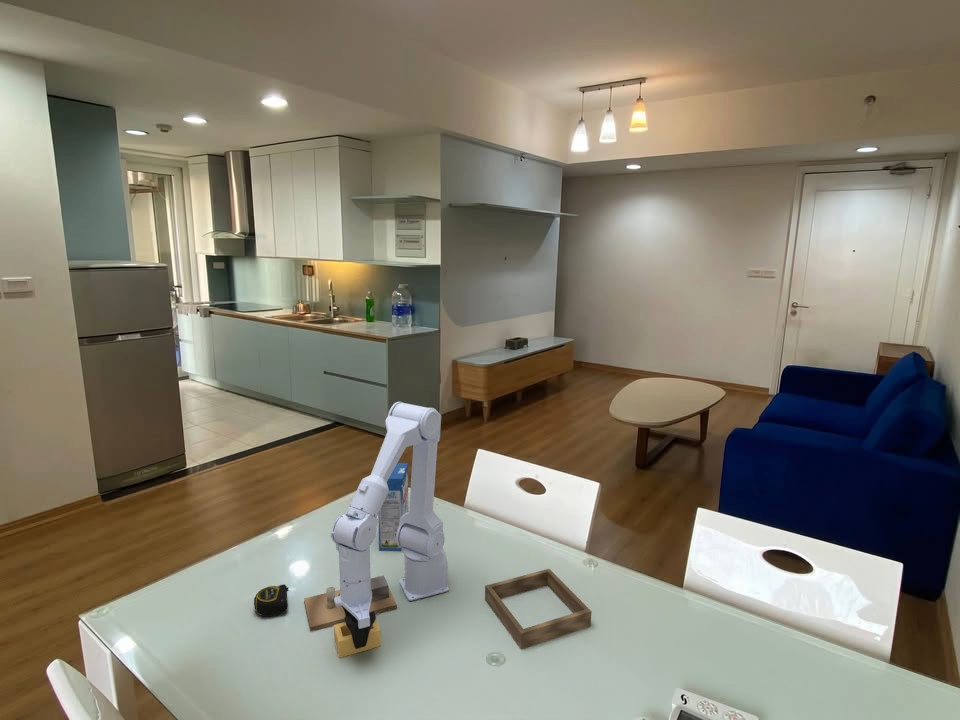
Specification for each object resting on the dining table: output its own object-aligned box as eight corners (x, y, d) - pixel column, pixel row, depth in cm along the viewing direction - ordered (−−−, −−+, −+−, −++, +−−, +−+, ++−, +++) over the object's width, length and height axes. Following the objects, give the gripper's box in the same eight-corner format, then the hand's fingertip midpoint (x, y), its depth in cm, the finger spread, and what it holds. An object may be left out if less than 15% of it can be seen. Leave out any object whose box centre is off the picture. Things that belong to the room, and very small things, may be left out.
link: (374, 629, 110) (374, 614, 109) (380, 645, 106) (380, 630, 105) (334, 640, 107) (333, 625, 106) (339, 657, 102) (338, 641, 102)
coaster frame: (548, 582, 127) (549, 568, 126) (590, 626, 112) (591, 611, 111) (485, 599, 120) (485, 585, 119) (520, 649, 105) (521, 633, 105)
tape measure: (288, 616, 114) (287, 600, 113) (253, 622, 112) (252, 606, 111) (289, 596, 120) (288, 581, 119) (255, 602, 118) (254, 586, 117)
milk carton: (403, 551, 138) (402, 478, 134) (379, 550, 138) (377, 478, 134) (408, 531, 148) (407, 463, 144) (386, 530, 148) (384, 462, 144)
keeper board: (385, 582, 125) (384, 563, 124) (397, 608, 116) (396, 587, 115) (304, 602, 118) (303, 581, 117) (310, 631, 109) (309, 609, 108)
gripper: (327, 559, 108) (330, 619, 111) (341, 602, 95) (343, 668, 98) (362, 551, 111) (364, 610, 114) (380, 592, 98) (382, 657, 101)
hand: (357, 636), depth 106 cm, fingers closed on link, 5 cm apart
